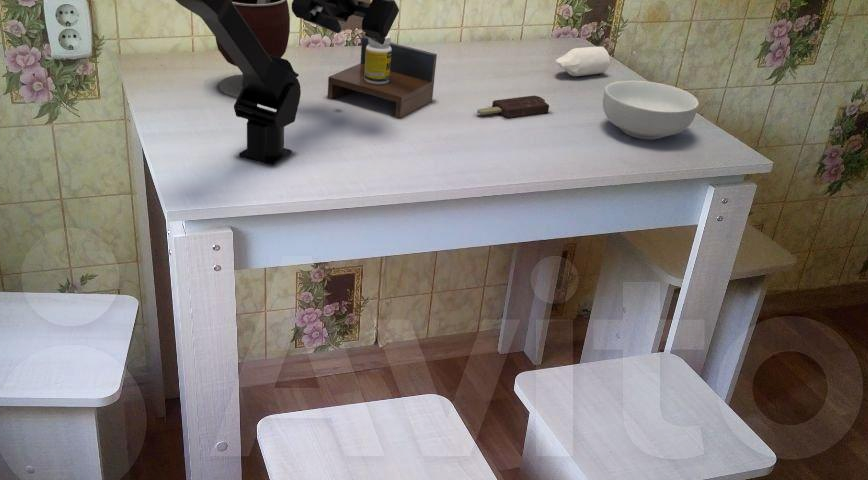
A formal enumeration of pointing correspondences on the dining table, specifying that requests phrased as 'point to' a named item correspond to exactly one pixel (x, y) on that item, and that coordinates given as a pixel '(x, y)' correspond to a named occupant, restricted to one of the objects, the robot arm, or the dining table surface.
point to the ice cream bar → (517, 106)
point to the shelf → (392, 79)
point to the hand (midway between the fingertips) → (361, 36)
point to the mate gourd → (260, 33)
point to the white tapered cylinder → (585, 61)
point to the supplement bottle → (378, 62)
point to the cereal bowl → (648, 108)
